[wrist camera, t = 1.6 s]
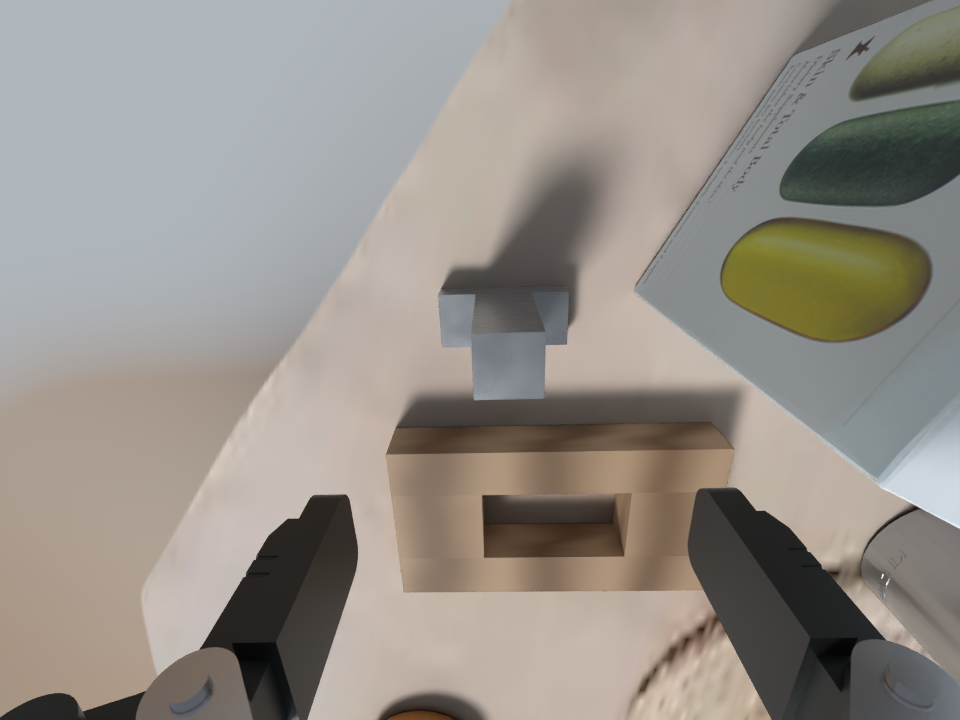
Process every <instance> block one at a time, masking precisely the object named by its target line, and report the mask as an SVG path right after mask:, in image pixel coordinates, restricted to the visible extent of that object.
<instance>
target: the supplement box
mask: <svg viewBox="0 0 960 720" xmlns="http://www.w3.org/2000/svg"><path fill="white" fill-rule="evenodd" d="M634 293H635V294H636V295H637V296H638V297H640V298H641V299H642V300H643V301H645V302H646V303H647V304H648V305H650V306H651V307H652V308H653V309H655V310H656V311H657V312H658V313H660V314H661V315H662V316H663V317H665V318H666V319H667V320H668V321H670V322H671V323H672V324H673V325H675V326H676V327H677V328H678V329H680V330H681V331H682V332H683V333H685V334H686V335H687V336H689V337H690V338H691V339H692V340H694V341H695V342H696V343H697V344H699V345H700V346H701V347H703V348H704V349H705V350H706V351H708V352H709V353H710V354H712V355H713V356H714V357H715V358H717V359H718V360H719V361H721V362H722V363H723V364H725V365H726V366H727V367H728V368H730V369H731V370H732V371H734V372H735V373H736V374H737V375H739V376H740V377H741V378H743V379H744V380H745V381H746V382H748V383H749V384H750V385H751V386H753V387H754V388H755V389H756V390H758V391H759V392H760V393H761V394H763V395H764V396H765V397H766V398H768V399H769V400H770V401H772V402H773V403H774V404H775V405H777V406H778V407H779V408H780V409H782V410H783V411H784V412H786V413H787V414H788V415H789V416H791V417H792V418H793V419H794V420H796V421H797V422H798V423H800V424H801V425H802V426H803V427H805V428H806V429H807V430H809V431H810V432H811V433H812V434H814V435H815V436H816V437H817V438H819V439H820V440H821V441H823V442H824V443H825V444H826V445H828V446H829V447H830V448H832V449H833V450H834V451H835V452H837V453H838V454H839V455H840V456H842V457H843V458H844V459H846V460H847V461H848V462H849V463H851V464H852V465H853V466H855V467H856V468H857V469H858V470H860V471H861V472H862V473H863V474H865V475H866V476H867V477H869V478H870V479H872V480H873V481H874V482H875V483H877V484H878V485H879V486H880V487H881V488H882V489H884V490H886V491H888V492H891V493H893V494H895V495H897V496H899V497H900V498H902V499H904V500H906V501H908V502H910V503H912V504H914V505H916V506H917V507H919V508H921V509H923V510H925V511H927V512H929V513H931V514H933V515H934V516H936V517H938V518H940V519H942V520H944V521H946V522H948V523H950V524H951V525H953V526H955V527H957V528H959V529H960V0H932V1H929V2H927V3H924V4H922V5H919V6H917V7H914V8H912V9H909V10H907V11H904V12H902V13H899V14H897V15H894V16H892V17H889V18H887V19H884V20H882V21H879V22H877V23H874V24H872V25H869V26H867V27H864V28H861V29H859V30H856V31H854V32H851V33H848V34H846V35H843V36H841V37H838V38H836V39H833V40H831V41H828V42H826V43H823V44H821V45H819V46H816V47H814V48H811V49H808V50H806V51H803V52H800V53H798V54H796V55H794V56H793V57H792V58H791V60H790V61H789V63H788V64H787V65H786V67H785V68H784V70H783V71H782V73H781V74H780V76H779V77H778V79H777V80H776V82H775V83H774V84H773V86H772V87H771V89H770V90H769V92H768V93H767V95H766V96H765V98H764V99H763V100H762V102H761V103H760V105H759V106H758V108H757V109H756V111H755V112H754V114H753V115H752V116H751V118H750V119H749V121H748V122H747V124H746V125H745V127H744V128H743V130H742V131H741V133H740V134H739V136H738V137H737V139H736V140H735V141H734V143H733V144H732V146H731V147H730V149H729V150H728V152H727V153H726V155H725V156H724V158H723V159H722V161H721V162H720V164H719V165H718V167H717V168H716V169H715V171H714V172H713V174H712V175H711V177H710V178H709V180H708V181H707V183H706V184H705V186H704V187H703V189H702V190H701V192H700V193H699V194H698V196H697V197H696V199H695V200H694V202H693V203H692V205H691V206H690V208H689V209H688V211H687V212H686V214H685V215H684V216H683V218H682V219H681V221H680V222H679V224H678V225H677V227H676V228H675V230H674V231H673V233H672V234H671V236H670V237H669V238H668V240H667V241H666V243H665V244H664V246H663V247H662V249H661V250H660V252H659V253H658V255H657V256H656V258H655V259H654V260H653V262H652V263H651V265H650V266H649V268H648V269H647V271H646V272H645V274H644V275H643V277H642V278H641V279H640V281H639V282H638V284H637V285H636V287H635V290H634Z"/></svg>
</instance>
